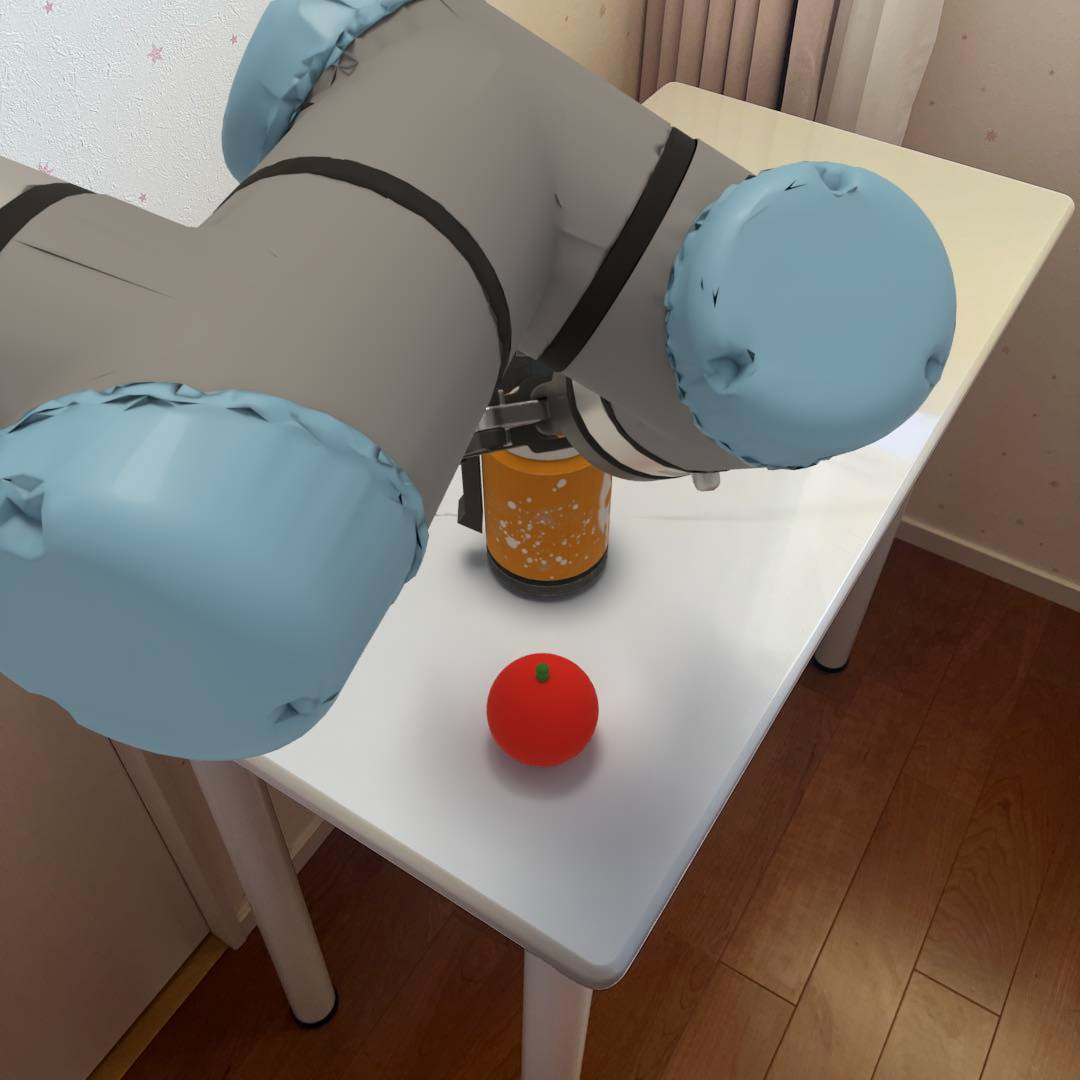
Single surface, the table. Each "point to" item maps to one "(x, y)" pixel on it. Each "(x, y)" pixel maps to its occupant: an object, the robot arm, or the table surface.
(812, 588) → the table surface
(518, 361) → the canister
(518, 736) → the tomato
